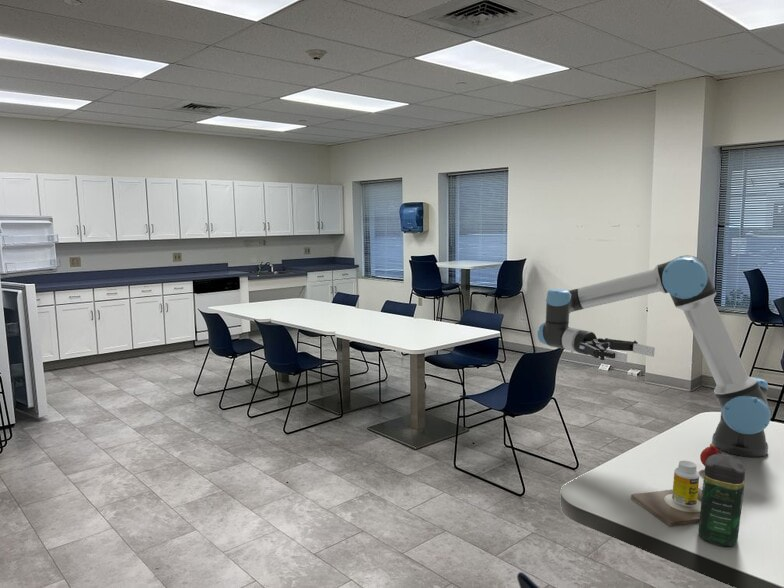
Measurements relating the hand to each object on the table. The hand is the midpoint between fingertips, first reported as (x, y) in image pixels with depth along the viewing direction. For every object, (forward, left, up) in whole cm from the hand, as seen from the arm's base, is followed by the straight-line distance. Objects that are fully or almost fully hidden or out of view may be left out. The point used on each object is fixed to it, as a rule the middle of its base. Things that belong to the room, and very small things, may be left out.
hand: (640, 355), depth 167 cm
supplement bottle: (+6, +28, -31) cm, 42 cm away
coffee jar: (+8, +41, -32) cm, 53 cm away
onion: (-17, +12, -32) cm, 38 cm away
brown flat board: (+6, +28, -32) cm, 43 cm away
